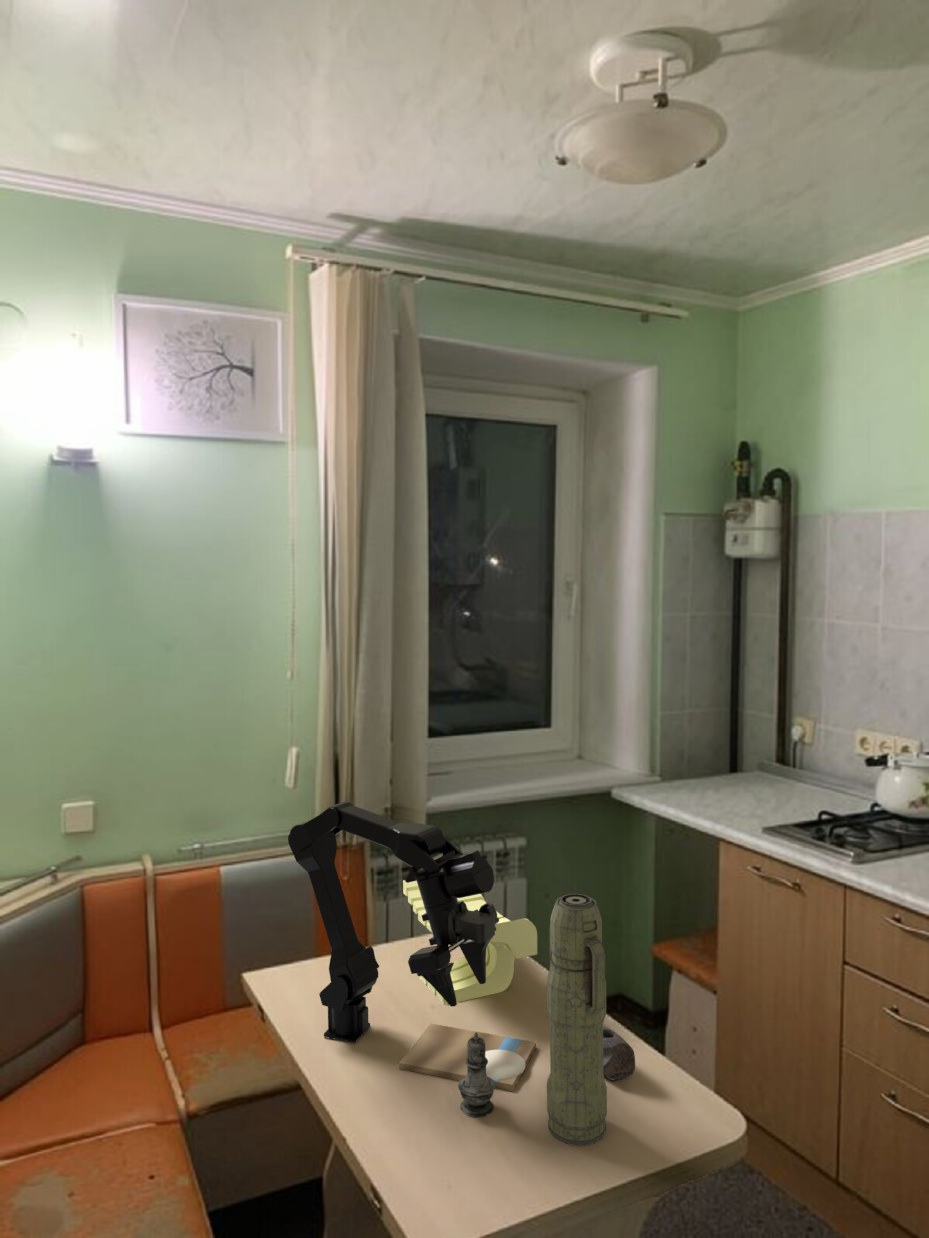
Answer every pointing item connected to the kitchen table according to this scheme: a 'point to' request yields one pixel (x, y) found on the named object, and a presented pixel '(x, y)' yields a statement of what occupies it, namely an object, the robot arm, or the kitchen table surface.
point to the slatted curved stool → (499, 952)
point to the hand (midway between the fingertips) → (468, 994)
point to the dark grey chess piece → (476, 1081)
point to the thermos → (576, 1021)
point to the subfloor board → (448, 1052)
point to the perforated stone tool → (617, 1056)
